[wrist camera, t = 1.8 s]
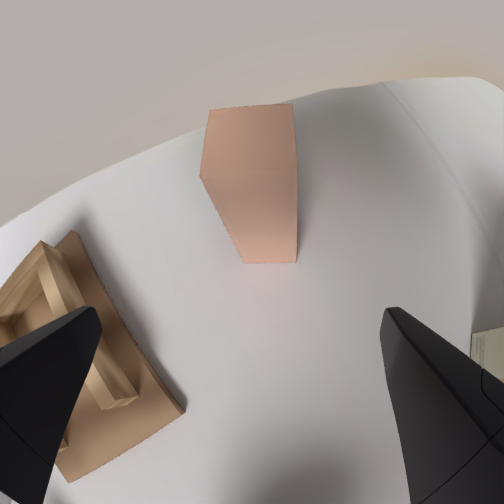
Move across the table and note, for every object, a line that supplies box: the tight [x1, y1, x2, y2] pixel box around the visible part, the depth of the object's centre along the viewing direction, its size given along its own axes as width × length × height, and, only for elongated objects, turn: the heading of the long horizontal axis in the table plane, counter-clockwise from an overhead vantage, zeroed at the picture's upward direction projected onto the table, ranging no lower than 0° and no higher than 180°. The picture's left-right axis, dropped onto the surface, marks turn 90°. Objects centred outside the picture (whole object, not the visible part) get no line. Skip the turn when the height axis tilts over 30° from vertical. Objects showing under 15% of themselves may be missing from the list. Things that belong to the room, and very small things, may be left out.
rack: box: [0, 230, 185, 483], centre depth 20 cm, size 20×16×4 cm
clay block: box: [199, 104, 298, 263], centre depth 18 cm, size 4×4×12 cm
